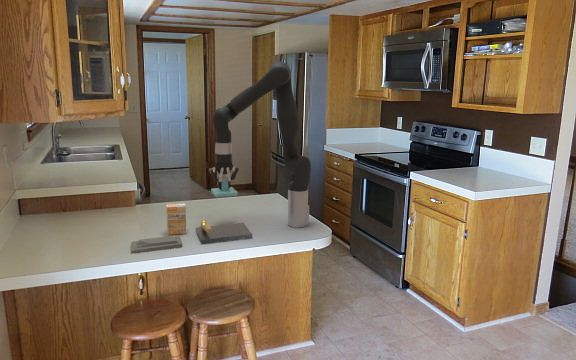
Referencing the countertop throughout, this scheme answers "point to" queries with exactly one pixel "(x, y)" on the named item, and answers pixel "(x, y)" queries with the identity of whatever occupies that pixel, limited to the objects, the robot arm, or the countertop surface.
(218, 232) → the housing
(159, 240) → the soap mold
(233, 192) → the cover
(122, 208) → the countertop surface
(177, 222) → the supplement box
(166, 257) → the countertop surface
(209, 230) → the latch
